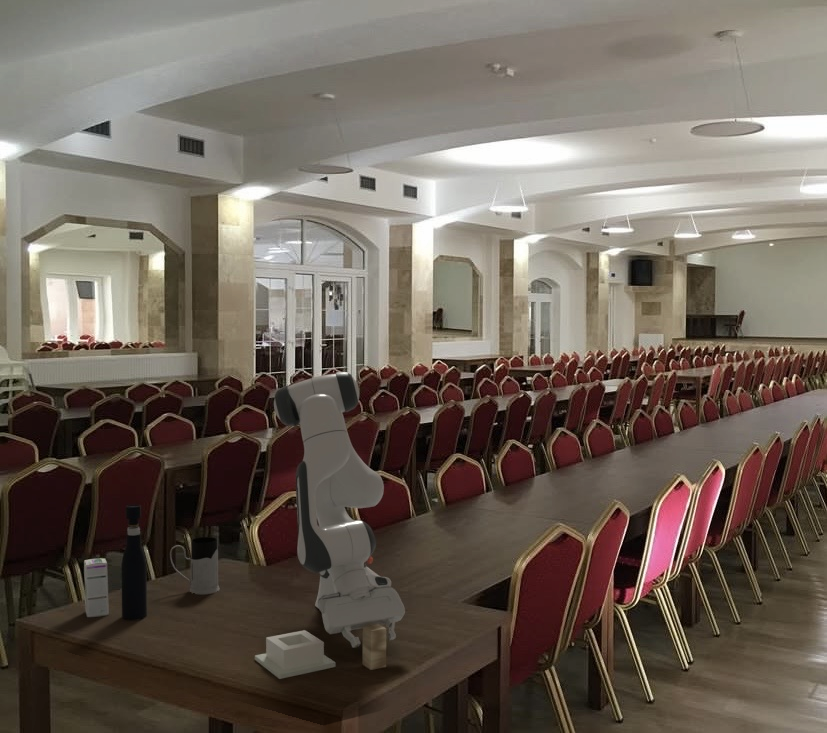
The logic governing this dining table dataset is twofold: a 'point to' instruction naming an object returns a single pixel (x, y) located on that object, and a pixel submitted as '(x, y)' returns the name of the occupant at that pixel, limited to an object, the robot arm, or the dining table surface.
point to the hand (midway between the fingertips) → (374, 642)
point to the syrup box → (96, 587)
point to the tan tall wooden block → (374, 646)
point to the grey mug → (202, 565)
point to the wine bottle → (134, 570)
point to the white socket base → (294, 654)
